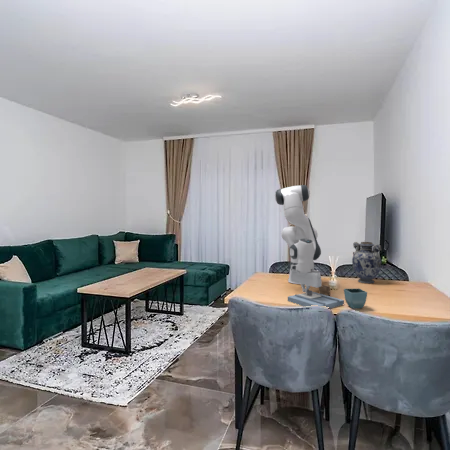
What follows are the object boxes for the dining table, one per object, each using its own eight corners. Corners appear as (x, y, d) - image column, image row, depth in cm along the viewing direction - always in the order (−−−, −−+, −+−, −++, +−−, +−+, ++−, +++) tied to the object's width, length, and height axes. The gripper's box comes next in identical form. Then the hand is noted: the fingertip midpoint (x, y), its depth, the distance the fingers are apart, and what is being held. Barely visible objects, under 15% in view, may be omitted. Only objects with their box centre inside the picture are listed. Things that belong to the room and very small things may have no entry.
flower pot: (343, 305, 175) (343, 288, 174) (358, 304, 175) (359, 288, 175) (350, 310, 166) (351, 292, 166) (367, 309, 167) (367, 292, 166)
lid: (309, 293, 188) (309, 287, 188) (321, 296, 181) (321, 291, 181) (298, 295, 183) (298, 290, 183) (310, 299, 176) (310, 293, 176)
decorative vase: (388, 282, 226) (388, 242, 225) (373, 286, 216) (373, 244, 214) (360, 277, 244) (360, 240, 242) (345, 281, 234) (345, 242, 232)
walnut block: (323, 295, 195) (324, 285, 195) (330, 296, 191) (330, 286, 191) (318, 296, 193) (319, 286, 192) (325, 297, 189) (325, 287, 189)
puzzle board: (312, 295, 193) (312, 290, 193) (343, 304, 175) (344, 298, 175) (287, 301, 182) (287, 295, 182) (318, 311, 164) (318, 304, 164)
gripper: (324, 270, 177) (323, 295, 177) (296, 264, 194) (296, 287, 194) (316, 271, 173) (316, 297, 174) (288, 265, 190) (288, 289, 191)
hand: (305, 292), depth 184 cm, fingers closed
